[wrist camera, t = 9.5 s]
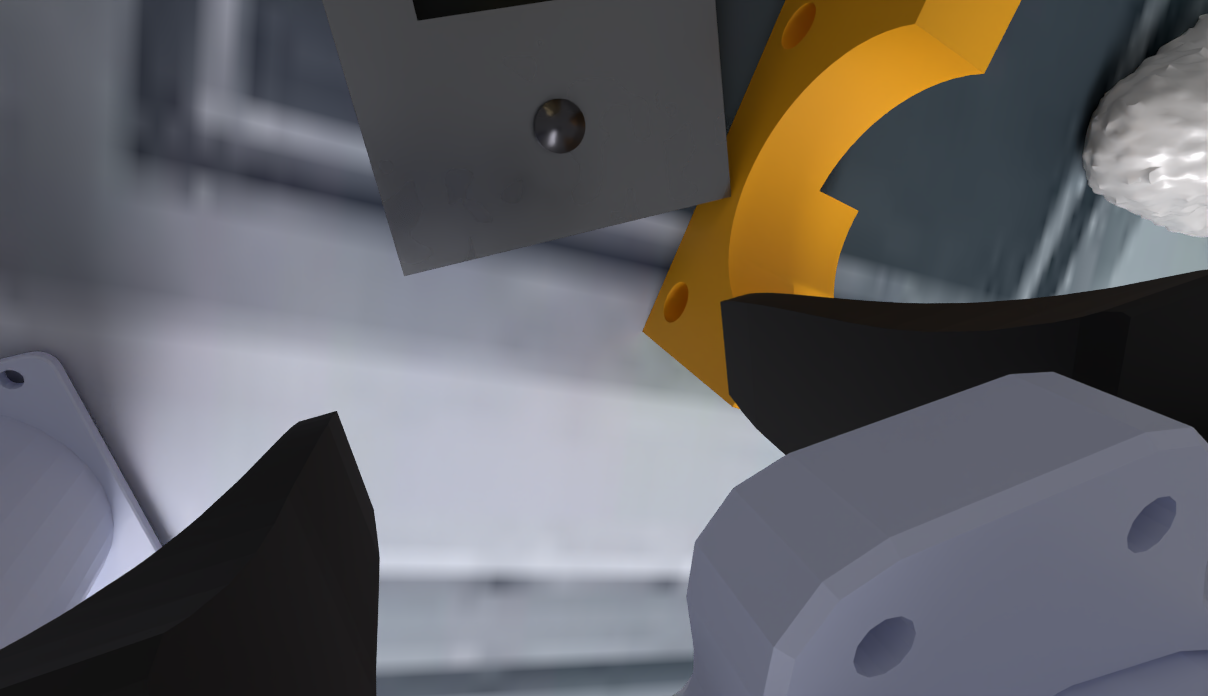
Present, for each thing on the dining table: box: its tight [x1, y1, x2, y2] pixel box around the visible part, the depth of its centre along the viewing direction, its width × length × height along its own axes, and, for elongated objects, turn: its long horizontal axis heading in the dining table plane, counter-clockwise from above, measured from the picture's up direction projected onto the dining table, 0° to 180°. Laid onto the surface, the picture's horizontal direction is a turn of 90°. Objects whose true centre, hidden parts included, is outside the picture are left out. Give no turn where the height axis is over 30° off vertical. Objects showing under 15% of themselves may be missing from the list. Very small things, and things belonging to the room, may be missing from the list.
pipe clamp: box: [642, 0, 1021, 409], centre depth 20 cm, size 12×4×6 cm, turn 156°
